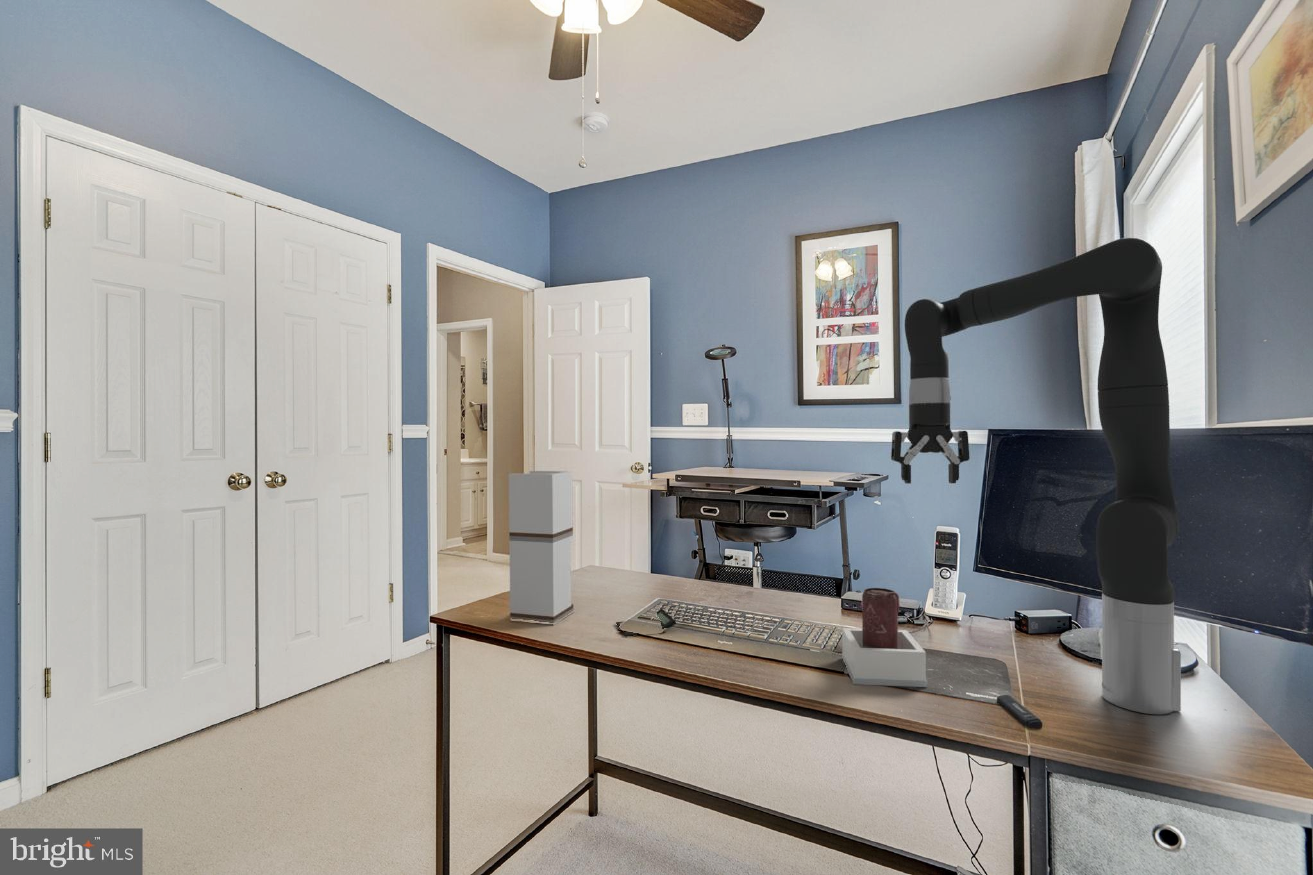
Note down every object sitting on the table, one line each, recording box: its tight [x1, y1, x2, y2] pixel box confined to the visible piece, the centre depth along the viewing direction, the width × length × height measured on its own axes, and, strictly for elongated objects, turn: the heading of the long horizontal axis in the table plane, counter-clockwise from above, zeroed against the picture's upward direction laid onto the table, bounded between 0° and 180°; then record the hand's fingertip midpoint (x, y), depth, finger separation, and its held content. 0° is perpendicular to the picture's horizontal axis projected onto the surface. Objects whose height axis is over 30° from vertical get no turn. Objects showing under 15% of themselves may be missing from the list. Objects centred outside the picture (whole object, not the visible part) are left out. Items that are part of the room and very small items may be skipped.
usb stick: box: [996, 694, 1043, 729], centre depth 97 cm, size 10×3×2 cm, turn 177°
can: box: [861, 587, 900, 649], centre depth 114 cm, size 6×6×14 cm
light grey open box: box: [841, 627, 928, 688], centre depth 114 cm, size 12×12×6 cm
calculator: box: [615, 608, 677, 637], centre depth 141 cm, size 9×12×3 cm
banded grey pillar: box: [508, 470, 574, 623], centre depth 150 cm, size 11×11×35 cm
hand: (929, 483), depth 123 cm, fingers open, 8 cm apart
